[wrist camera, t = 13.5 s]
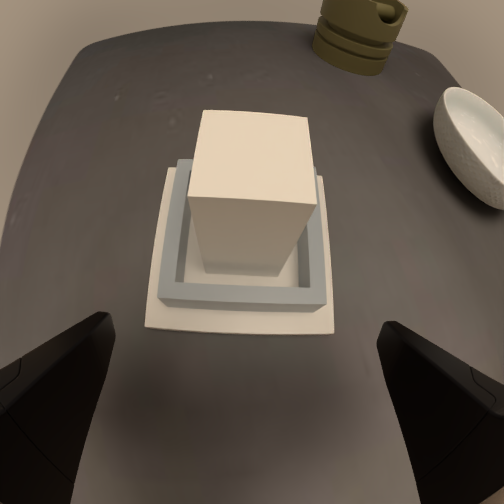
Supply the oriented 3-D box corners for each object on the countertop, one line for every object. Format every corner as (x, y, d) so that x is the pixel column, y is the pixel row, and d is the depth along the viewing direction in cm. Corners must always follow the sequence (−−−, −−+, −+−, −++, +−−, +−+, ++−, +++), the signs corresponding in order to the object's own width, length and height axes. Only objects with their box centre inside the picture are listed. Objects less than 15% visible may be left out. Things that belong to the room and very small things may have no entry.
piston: (424, 17, 23) (363, 2, 21) (395, 76, 34) (338, 76, 32) (372, -15, 26) (312, -26, 24) (354, 39, 38) (298, 38, 35)
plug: (277, 277, 20) (317, 204, 11) (205, 273, 20) (187, 196, 11) (277, 213, 22) (306, 117, 13) (211, 210, 22) (203, 110, 13)
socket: (329, 334, 20) (350, 328, 16) (148, 328, 19) (130, 320, 16) (319, 182, 25) (332, 154, 21) (170, 174, 24) (162, 144, 20)
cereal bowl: (445, 109, 33) (466, 78, 26) (515, 191, 29) (543, 167, 22) (394, 140, 28) (422, 97, 22) (487, 252, 24) (530, 226, 18)
